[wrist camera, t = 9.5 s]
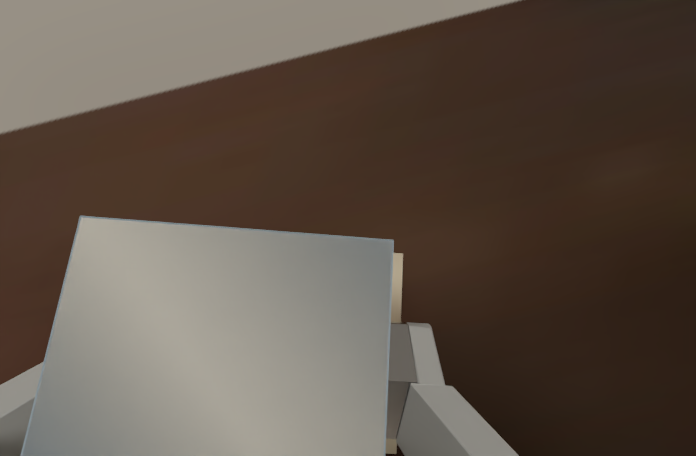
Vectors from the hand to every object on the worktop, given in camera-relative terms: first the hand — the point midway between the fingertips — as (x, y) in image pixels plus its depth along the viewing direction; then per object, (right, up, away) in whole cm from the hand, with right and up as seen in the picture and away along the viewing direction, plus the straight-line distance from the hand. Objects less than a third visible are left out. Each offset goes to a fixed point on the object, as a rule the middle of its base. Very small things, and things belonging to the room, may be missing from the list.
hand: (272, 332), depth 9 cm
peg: (0, -2, +5) cm, 6 cm away
